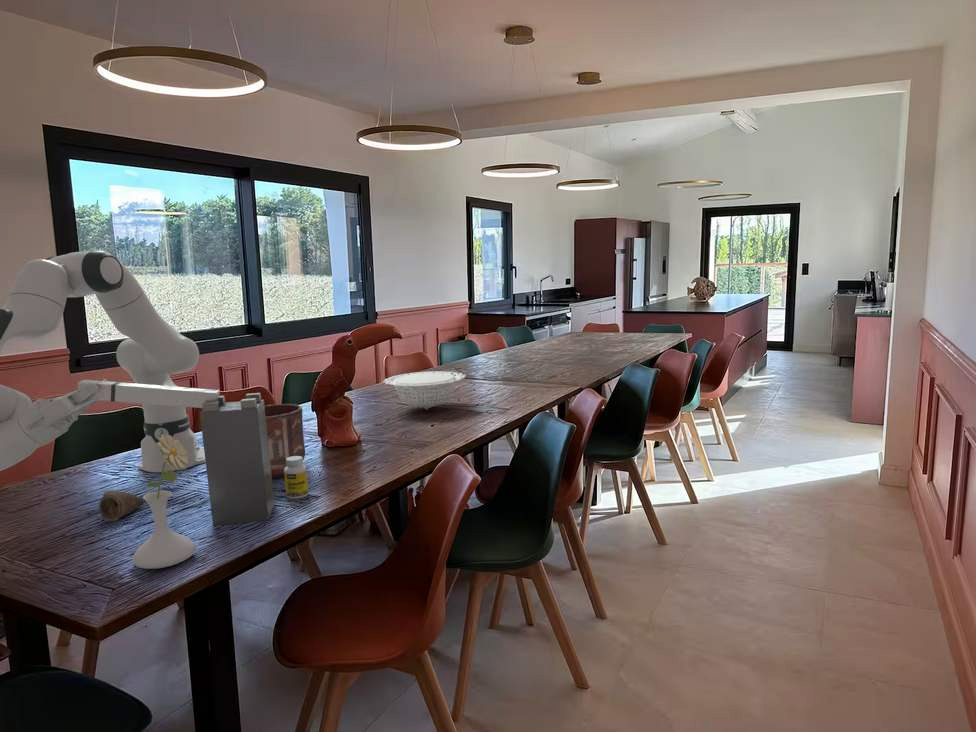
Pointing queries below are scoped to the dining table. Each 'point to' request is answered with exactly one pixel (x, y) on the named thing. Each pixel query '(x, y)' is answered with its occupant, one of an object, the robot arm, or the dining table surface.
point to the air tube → (150, 394)
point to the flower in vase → (164, 516)
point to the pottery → (284, 435)
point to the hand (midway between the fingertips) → (102, 383)
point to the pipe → (118, 504)
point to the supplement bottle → (295, 478)
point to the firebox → (237, 460)
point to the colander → (425, 386)
